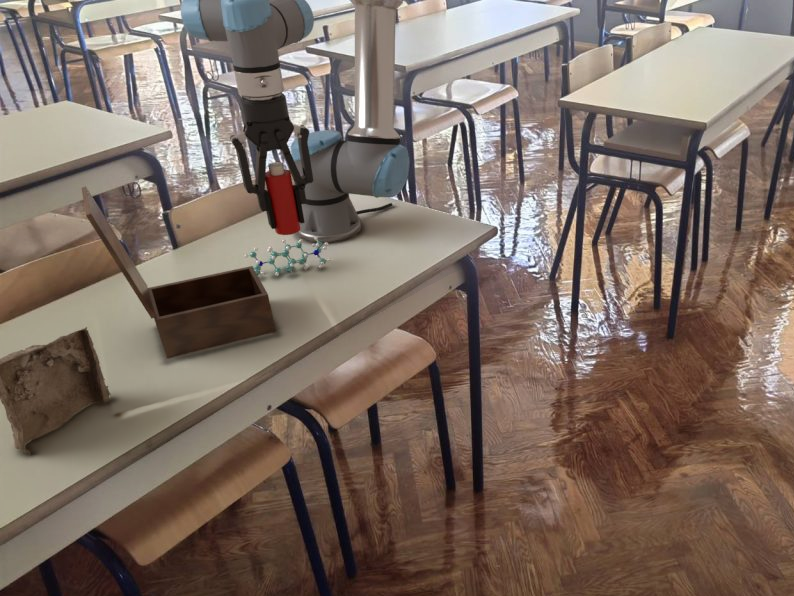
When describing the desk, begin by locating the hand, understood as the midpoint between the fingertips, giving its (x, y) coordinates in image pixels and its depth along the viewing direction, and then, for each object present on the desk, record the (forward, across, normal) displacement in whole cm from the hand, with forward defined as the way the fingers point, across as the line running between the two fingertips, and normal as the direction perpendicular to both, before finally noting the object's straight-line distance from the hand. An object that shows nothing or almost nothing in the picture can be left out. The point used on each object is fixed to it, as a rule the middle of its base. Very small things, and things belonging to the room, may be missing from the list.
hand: (286, 223), depth 142 cm
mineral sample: (+19, -44, -18) cm, 51 cm away
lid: (0, -29, 0) cm, 29 cm away
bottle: (+1, 0, 0) cm, 1 cm away
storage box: (+19, -17, 0) cm, 25 cm away
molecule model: (+19, +2, +18) cm, 26 cm away
